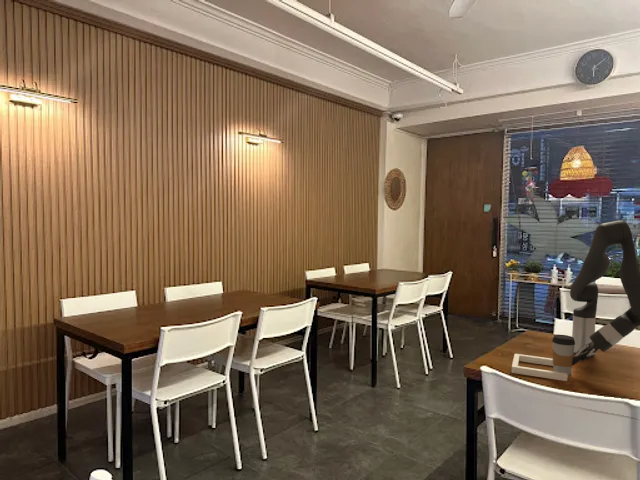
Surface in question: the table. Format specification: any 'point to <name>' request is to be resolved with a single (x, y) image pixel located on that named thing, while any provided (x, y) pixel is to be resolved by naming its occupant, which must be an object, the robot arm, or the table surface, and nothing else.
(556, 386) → the table surface
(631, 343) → the table surface
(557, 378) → the frame
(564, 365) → the coffee cup
